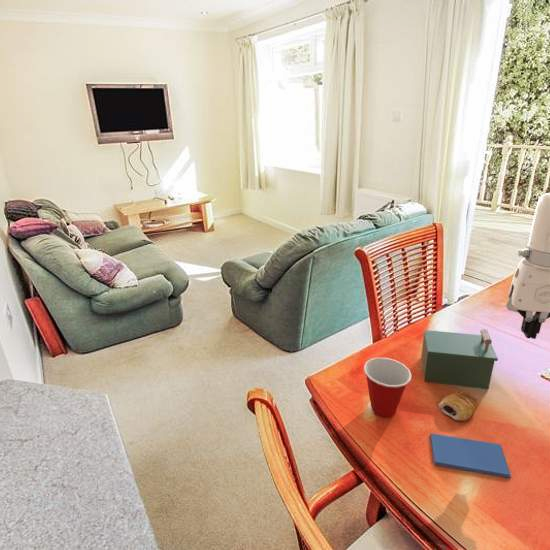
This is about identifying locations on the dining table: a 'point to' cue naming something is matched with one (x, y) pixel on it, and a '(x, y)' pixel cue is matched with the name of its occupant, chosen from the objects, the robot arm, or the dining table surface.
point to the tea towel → (469, 455)
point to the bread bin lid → (460, 345)
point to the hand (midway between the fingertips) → (528, 335)
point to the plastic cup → (386, 384)
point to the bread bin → (456, 370)
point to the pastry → (458, 405)
